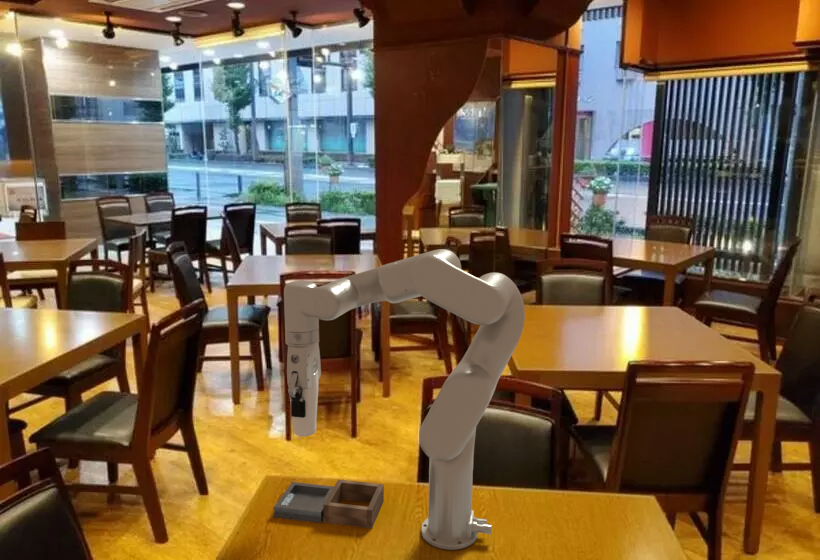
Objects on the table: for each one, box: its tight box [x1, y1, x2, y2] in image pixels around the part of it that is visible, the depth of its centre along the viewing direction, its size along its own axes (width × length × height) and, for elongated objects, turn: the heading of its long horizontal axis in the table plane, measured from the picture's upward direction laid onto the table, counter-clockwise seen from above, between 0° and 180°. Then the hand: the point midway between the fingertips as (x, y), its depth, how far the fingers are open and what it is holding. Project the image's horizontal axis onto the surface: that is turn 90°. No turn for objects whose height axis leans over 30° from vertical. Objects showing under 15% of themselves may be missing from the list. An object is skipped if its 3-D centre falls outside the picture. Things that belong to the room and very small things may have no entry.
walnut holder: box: [323, 479, 385, 529], centre depth 145 cm, size 11×11×4 cm
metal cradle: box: [273, 481, 335, 524], centre depth 147 cm, size 11×12×2 cm
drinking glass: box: [288, 370, 319, 437], centre depth 142 cm, size 7×7×15 cm
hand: (304, 409), depth 142 cm, fingers closed on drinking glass, 6 cm apart
